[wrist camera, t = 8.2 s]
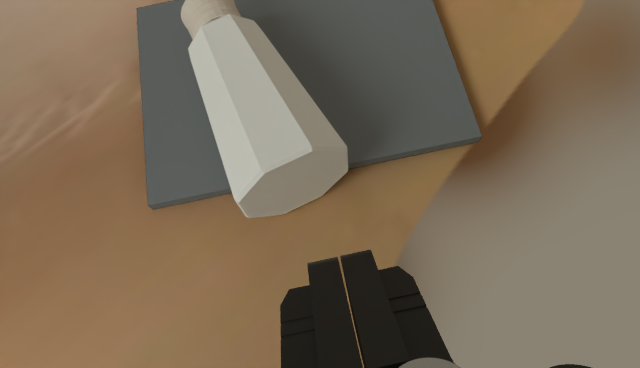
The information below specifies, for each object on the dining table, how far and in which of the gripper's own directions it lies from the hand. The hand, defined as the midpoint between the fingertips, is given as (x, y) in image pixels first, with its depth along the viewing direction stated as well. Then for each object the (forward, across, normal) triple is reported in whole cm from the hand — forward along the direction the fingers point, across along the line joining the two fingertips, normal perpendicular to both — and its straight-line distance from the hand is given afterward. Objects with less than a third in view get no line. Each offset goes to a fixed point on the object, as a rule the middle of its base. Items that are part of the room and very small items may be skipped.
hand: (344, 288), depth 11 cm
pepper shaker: (+9, +1, +1) cm, 9 cm away
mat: (+16, 0, -2) cm, 16 cm away
